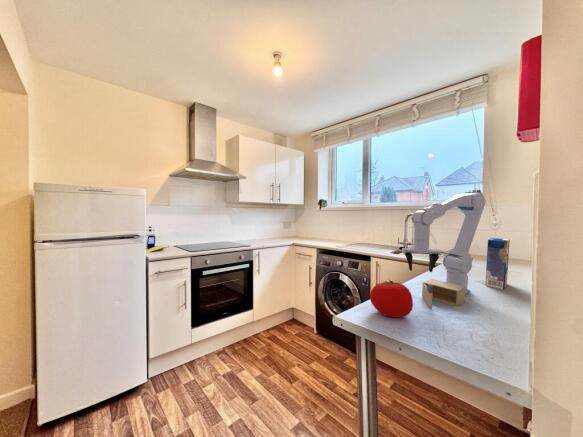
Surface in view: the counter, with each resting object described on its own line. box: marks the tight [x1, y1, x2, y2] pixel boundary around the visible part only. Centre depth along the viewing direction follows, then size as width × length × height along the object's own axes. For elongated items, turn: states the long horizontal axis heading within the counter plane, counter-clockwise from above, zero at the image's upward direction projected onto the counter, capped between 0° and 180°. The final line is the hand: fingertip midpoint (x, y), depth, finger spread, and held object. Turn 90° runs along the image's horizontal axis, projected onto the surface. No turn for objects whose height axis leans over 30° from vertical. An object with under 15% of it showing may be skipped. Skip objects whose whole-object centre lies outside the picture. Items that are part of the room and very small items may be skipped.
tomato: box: [369, 279, 414, 318], centre depth 84 cm, size 12×14×12 cm
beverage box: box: [484, 237, 511, 290], centre depth 115 cm, size 7×11×22 cm, turn 133°
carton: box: [422, 278, 466, 307], centre depth 98 cm, size 8×13×6 cm, turn 38°
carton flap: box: [421, 282, 433, 310], centre depth 94 cm, size 1×12×8 cm, turn 165°
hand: (420, 270), depth 102 cm, fingers open, 7 cm apart
